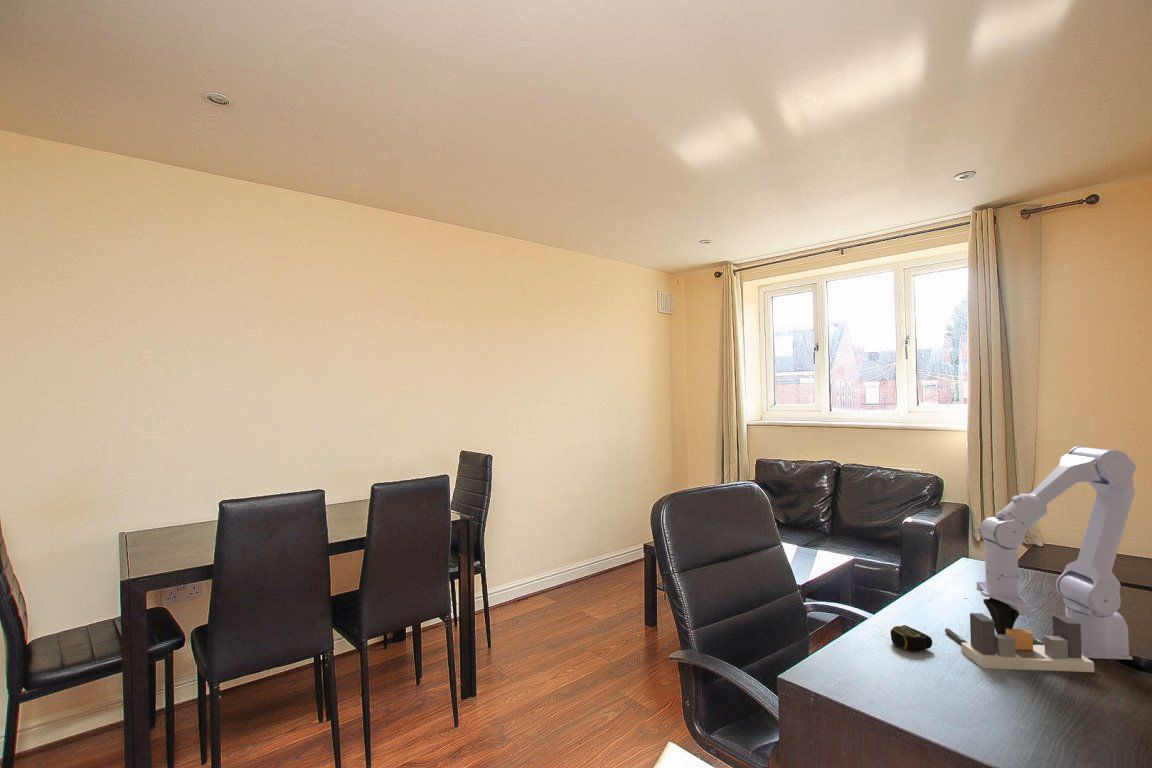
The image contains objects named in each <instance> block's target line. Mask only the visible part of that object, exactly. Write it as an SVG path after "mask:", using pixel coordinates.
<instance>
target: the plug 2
mask: <svg viewBox="0 0 1152 768" xmlns="http://www.w3.org/2000/svg"><path fill="white" fill-rule="evenodd" d="M1052 636H1060V637H1062V638H1064V639H1066V640H1068V658H1082V652H1081V624H1080V623H1078V622H1076V621H1074V620H1072V619H1070V618H1068V617H1067V616H1066V615H1059V614H1057V615H1055V614H1053V615H1052Z"/></svg>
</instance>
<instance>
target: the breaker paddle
mask: <svg viewBox="0 0 1152 768" xmlns="http://www.w3.org/2000/svg"><path fill="white" fill-rule="evenodd" d="M1033 634H1034V633H1033V632H1032V631H1029V630H1028V629H1026V628H1013V629H1006V635H1009V636H1011V637H1013V638H1014V639H1015V650H1033V645H1034V643H1033V636H1034V635H1033Z"/></svg>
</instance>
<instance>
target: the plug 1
mask: <svg viewBox="0 0 1152 768" xmlns="http://www.w3.org/2000/svg"><path fill="white" fill-rule="evenodd" d="M969 624H970V625H969V626H970V631H969V632H970V643H971V646H972V647H973V648H974V649H976V650H977V651H978V652H980V653H981V654H983V655H995V634H996V630H995V621H993V620H992V618H990V617H989V616H987V615H985V614H984V613H980V612H979V613H978V612H976V613H975V612H970V613H969Z"/></svg>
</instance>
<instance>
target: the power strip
mask: <svg viewBox="0 0 1152 768" xmlns="http://www.w3.org/2000/svg"><path fill="white" fill-rule="evenodd" d="M944 632H945V634H947V635H948V636H950V637H951V638H952V639H953V640H955V641H957V643H958V644H960V647H961V648H960V650H961V651H960V652H961V653H962V654H964V655H965V656H966V657H967V658H969V659H970V660H971V661H973V662H974V663H975V664H976V665H977V666H979V667H981V669H994V670H996V669H998V670H1022V671H1023V670H1025V671H1047V672H1048V671H1050V672H1051V671H1052V672H1053V671H1054V672H1082V673H1095V662H1094V661H1093V660H1091V659H1090V658H1086V657H1084V656H1082V658H1068V640H1066V639H1064V638H1062V637H1060V636H1053V635H1044V636H1043V639H1044V640H1043V641H1044V642H1043V641H1042V640H1040V639H1038V638H1037V637H1036V636H1034V635H1033V650H1015V639H1014V638H1013V637H1011V636H1009V635H1004V634H997V633H995V655H983V654H981V653H980V652H978V651H977V650H976V649H974V648H973V647H972V646H971V642H968V641H967V640H965V639H964V638H963V637H961V636H960V635H958V634H957V633H955V632H954V631H953V630H952V629H950V628H947V627H946V628H945V629H944Z"/></svg>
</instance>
